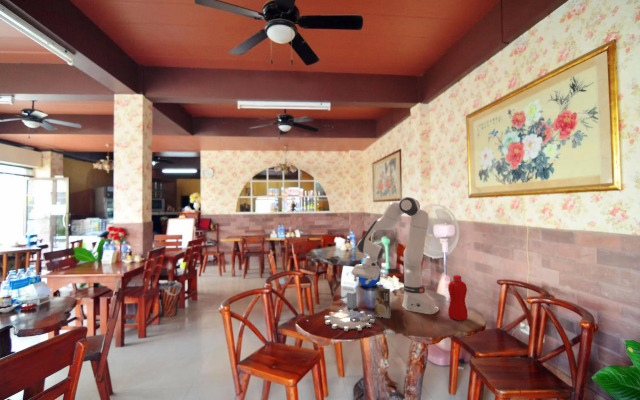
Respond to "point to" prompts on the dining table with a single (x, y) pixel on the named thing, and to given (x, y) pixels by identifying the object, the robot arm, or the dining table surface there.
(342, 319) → the sprocket
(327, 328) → the dining table surface
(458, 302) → the water bottle
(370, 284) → the vase
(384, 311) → the coffee box
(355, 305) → the drive pin
